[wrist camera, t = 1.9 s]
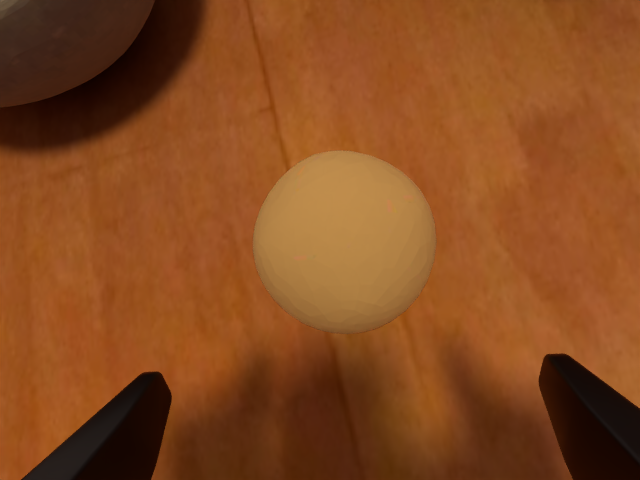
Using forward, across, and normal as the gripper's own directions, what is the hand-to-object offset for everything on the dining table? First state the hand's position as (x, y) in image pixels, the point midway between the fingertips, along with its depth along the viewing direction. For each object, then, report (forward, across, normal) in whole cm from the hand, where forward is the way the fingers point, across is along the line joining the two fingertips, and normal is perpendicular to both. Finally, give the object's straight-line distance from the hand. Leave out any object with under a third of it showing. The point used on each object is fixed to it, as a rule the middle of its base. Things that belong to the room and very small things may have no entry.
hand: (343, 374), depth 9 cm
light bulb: (+11, 0, +5) cm, 12 cm away
